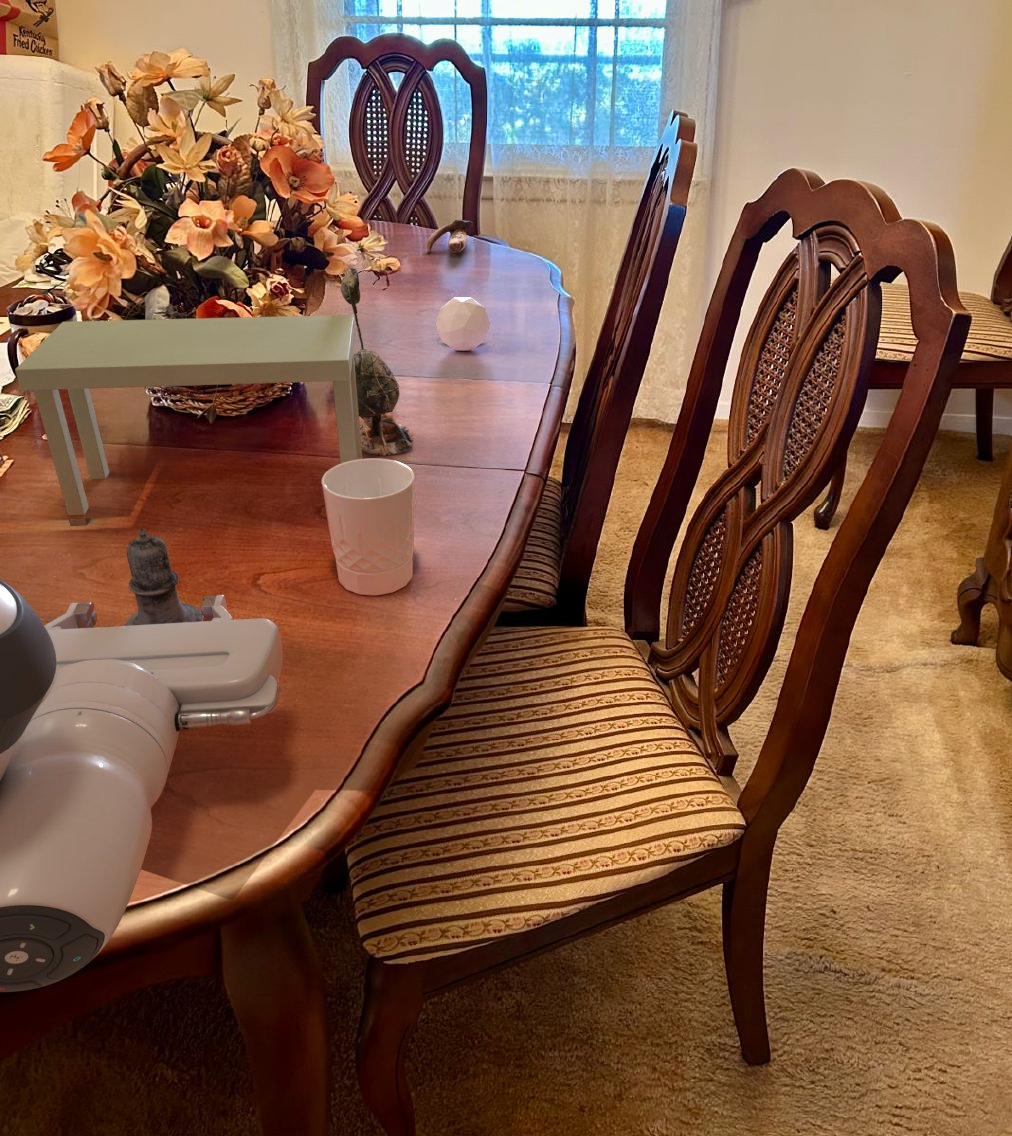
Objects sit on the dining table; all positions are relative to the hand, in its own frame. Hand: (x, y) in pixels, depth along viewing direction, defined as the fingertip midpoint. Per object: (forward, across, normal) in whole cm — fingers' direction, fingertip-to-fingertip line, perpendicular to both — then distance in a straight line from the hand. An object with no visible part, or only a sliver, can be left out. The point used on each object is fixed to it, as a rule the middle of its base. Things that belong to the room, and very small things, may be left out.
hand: (151, 606), depth 69 cm
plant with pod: (+42, -16, +7) cm, 45 cm away
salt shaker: (+2, 0, +7) cm, 7 cm away
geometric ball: (+76, -28, +7) cm, 81 cm away
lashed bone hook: (+140, -30, +7) cm, 144 cm away
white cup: (+13, -16, +7) cm, 22 cm away
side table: (+30, 0, +7) cm, 31 cm away
